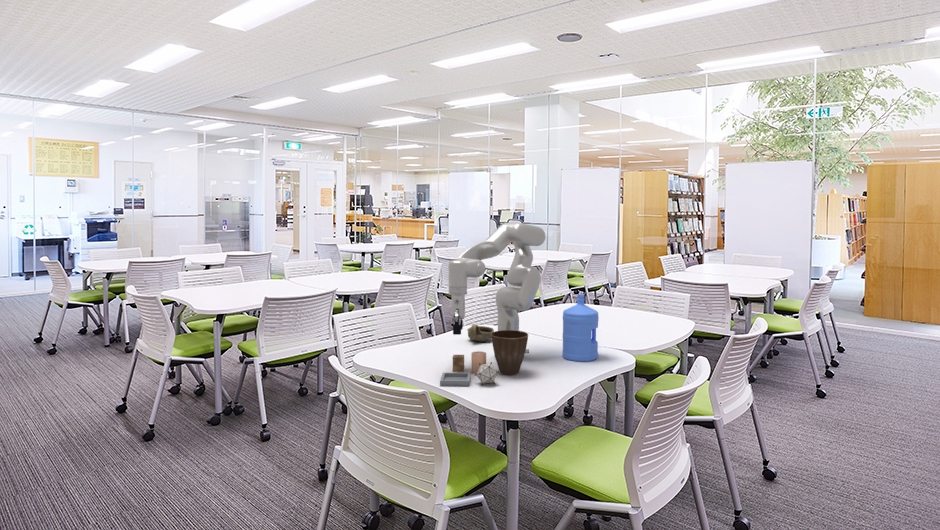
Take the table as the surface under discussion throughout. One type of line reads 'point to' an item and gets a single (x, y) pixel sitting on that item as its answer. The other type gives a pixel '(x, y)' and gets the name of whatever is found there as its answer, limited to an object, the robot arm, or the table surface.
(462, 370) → the walnut block
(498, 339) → the plant pot
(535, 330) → the table surface
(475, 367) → the peach round domed cylinder
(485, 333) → the tan curved open container
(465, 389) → the table surface
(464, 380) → the tray
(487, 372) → the game die
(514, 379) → the table surface
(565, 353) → the water jug
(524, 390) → the table surface
